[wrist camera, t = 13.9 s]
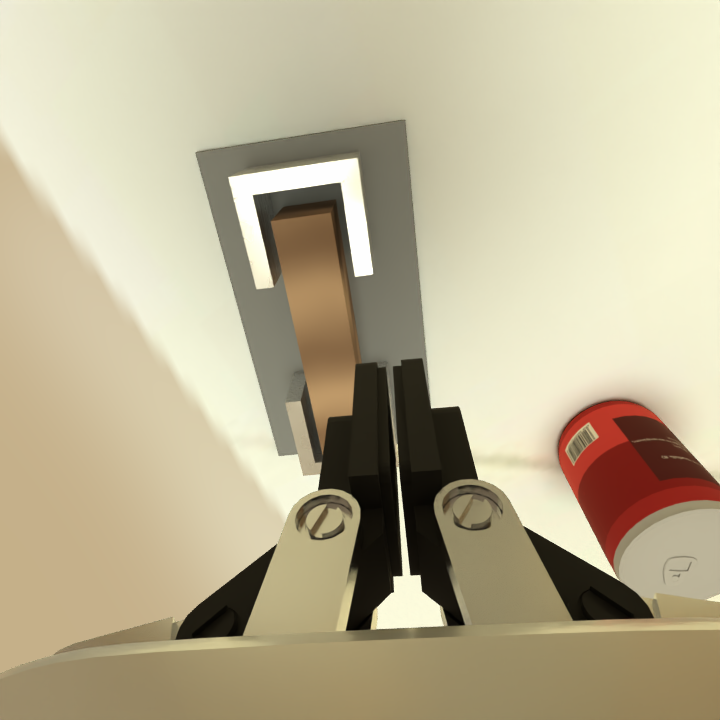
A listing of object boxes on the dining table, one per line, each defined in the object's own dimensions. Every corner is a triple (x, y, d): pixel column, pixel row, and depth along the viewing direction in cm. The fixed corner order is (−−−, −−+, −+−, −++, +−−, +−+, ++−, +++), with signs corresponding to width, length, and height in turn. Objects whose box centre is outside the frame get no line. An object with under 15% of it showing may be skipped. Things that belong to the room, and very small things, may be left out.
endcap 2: (396, 431, 37) (398, 466, 33) (310, 440, 37) (303, 475, 34) (387, 361, 34) (388, 391, 30) (294, 371, 34) (284, 402, 31)
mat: (197, 152, 28) (195, 152, 28) (404, 119, 27) (405, 120, 27) (279, 452, 38) (278, 455, 38) (433, 437, 37) (433, 440, 37)
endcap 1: (246, 168, 28) (228, 177, 25) (359, 150, 28) (357, 157, 24) (269, 268, 31) (256, 289, 27) (373, 254, 30) (373, 274, 27)
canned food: (558, 489, 39) (619, 615, 30) (550, 409, 36) (616, 522, 26) (658, 471, 38) (755, 597, 29) (659, 387, 35) (771, 497, 25)
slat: (283, 206, 29) (270, 221, 26) (335, 199, 29) (330, 212, 25) (328, 425, 36) (323, 460, 33) (370, 421, 36) (370, 455, 33)
